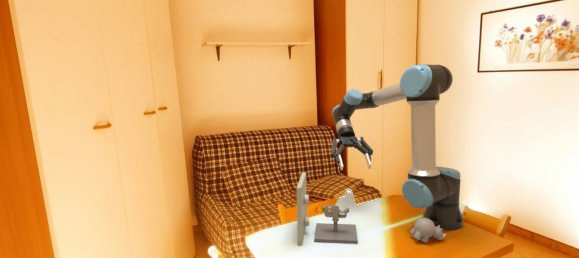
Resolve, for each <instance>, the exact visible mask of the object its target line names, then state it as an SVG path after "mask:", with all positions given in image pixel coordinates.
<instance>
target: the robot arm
mask: <svg viewBox="0 0 579 258" xmlns="http://www.w3.org/2000/svg"><path fill="white" fill-rule="evenodd" d="M452 84H453V74H452V72H451V70H450V69H449V68H448V67H447V66H445V65H441V64H426V63H425V64H424V63H423V64H414V65H411V66H409V67H407V69H405V71H403V73H402V74H401V76H400V81H399V83H398V82H397V83H396V84H393V85H389V86H386V87H383V88H379V89H377V90H373V91H370V92H364V93H362V92H361V91H359V90H358V89H354V88H350V89H349V90H348V91H347V92H346V94H345V95H344V97H343V99H341V100H342V101H341V103H340V104H337V105H336V106H334V107H333V108H332V111H331V112H332V113H331V114H332V118H333V121H334V125H335V128H336V133H337V136H338V138H336V137H334V138H333V140H332V148H331V153H330V158H332V159H333V158H334V159H335V162H336V164H338V165H339V169H340V171H343V170H344V164H343V159H342V156H341V153H342V151H343V150H344V149H345V148H354V149H356V150H357V151H359V152H360V153H362V154H363V156H364V159H365V162H366V165H367V169H368V170H370V169H371V167H372V156H373V153H374V149H372V147H371V146H370V145H369V144H368V143H367V142H366V141H365V140H364V137H363V136H360V137H357V136H356V132H355V131H354V126H353V125H352V121H351V117H352V116H353V114H354V113H355V111H356V110H364V109H365V110H366V109H375V108H378V107H380V106H384V105H387V104H392V103H396V102H401V101H403V100H406V103H407V104H408V105H409V106H410V135H411V136H410V138H411V139H410V140H411V167H410V169H409V170H407V179H406V180H405V181H404V182H403V184H402V187H401V188H402V189H401V192H402V195H403V198H404V199H405V201H406V202H407V203H408V204H409V205H410V206H412V207H413V208H415V209H421V210H422V209H424V211H423V214H422V215H423V216H422V218H428V219H430V220H431V221H432V222H433V223H434V225H435V226H438V225H440V228H441V229H443V230H447V231H449V230H450V231H451V230H458V229H461V228H462V227H464V218H463V215H462V212H461V208H460V193H461V190H460V189H461V172H460V171H459V170H458V169H455V168H450V167H447V166H446V167H444V166H436V164H437V163H436V162H437V160H436V159H437V157H436V156H437V155H436V153H437V152H436V144H437V143H436V106H437V103H439V102H440V100H441V99H440V98H441V97H440V95H442V94H444V93H446V92H448V90H450V89H451V86H452ZM338 144H340V145H339V148H338V149H337V148H336V147H337V145H338ZM336 149H337V151H336Z"/></svg>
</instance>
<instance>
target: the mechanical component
mask: <svg viewBox="0 0 579 258" xmlns="http://www.w3.org/2000/svg"><path fill="white" fill-rule="evenodd" d="M321 208H322V212H323V213H324V217H326V218H332V220H331V221H332V222H333V224H334V232H337V231H338V224H339V223H338V222H339V221H340V219H345V218H347V217H348V216H347V215H348V213H350V208H349V207H346V206H345V207H344V209H342V210H341V208H340V206H339V205H329V204H325V205H324V206H322V207H321Z"/></svg>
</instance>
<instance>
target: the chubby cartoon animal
mask: <svg viewBox="0 0 579 258" xmlns="http://www.w3.org/2000/svg"><path fill="white" fill-rule="evenodd" d="M443 231H444V229H441V228H440V225H438V226H435V225H434V223H433V222H432V221H431V220H430V219H428V218H423V217H420V218H418V219H417V220H416V221H415V223H414V227H412V228H411V229H410V231H409V232H410V233H409V234H411V236H413V239H414V240H417V241H421V243H424V244H427V243H429V241H430V240H429V239H430V237H433V238H435V239H436V240H437V241H439V242H440V241H443V240H444V238H445V237H446V235H447V233H446V232H445V233H444V232H443Z"/></svg>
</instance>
